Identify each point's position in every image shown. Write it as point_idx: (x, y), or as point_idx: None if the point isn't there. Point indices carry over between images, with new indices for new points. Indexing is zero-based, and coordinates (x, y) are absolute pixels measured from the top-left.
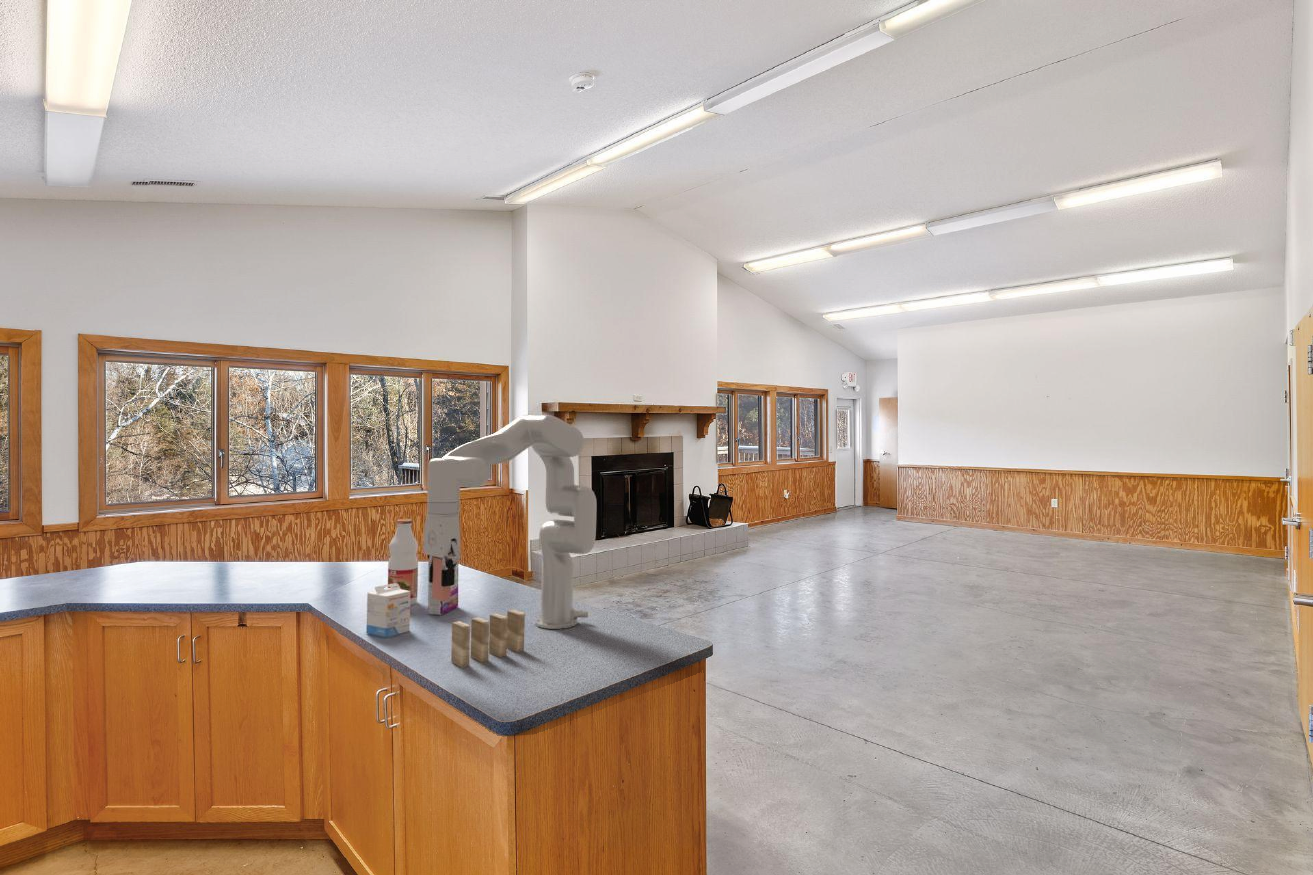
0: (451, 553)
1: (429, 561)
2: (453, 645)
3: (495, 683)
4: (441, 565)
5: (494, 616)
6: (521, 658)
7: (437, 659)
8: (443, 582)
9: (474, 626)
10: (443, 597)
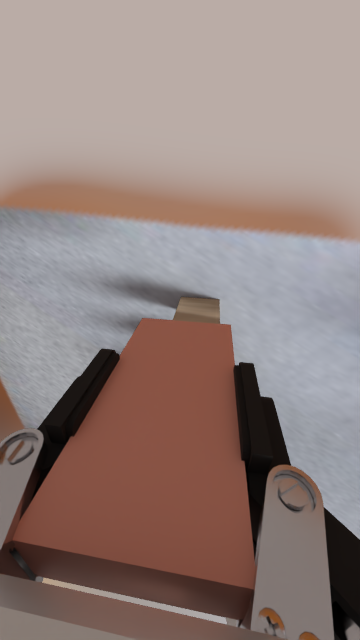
0: None
1: (306, 515)
2: (211, 313)
3: (76, 288)
4: (86, 473)
5: None
6: None
7: (255, 291)
8: (93, 364)
9: None
10: (138, 329)
